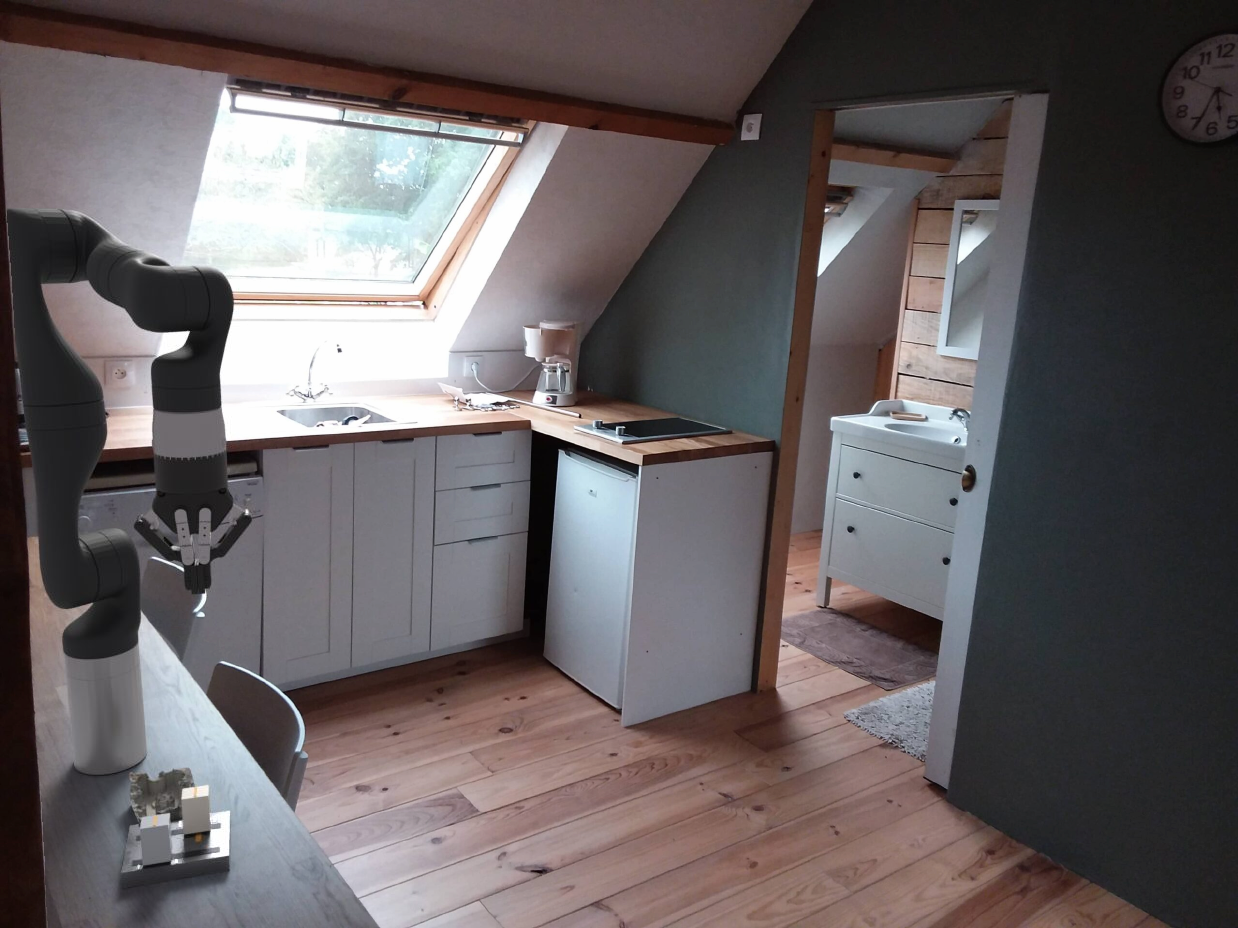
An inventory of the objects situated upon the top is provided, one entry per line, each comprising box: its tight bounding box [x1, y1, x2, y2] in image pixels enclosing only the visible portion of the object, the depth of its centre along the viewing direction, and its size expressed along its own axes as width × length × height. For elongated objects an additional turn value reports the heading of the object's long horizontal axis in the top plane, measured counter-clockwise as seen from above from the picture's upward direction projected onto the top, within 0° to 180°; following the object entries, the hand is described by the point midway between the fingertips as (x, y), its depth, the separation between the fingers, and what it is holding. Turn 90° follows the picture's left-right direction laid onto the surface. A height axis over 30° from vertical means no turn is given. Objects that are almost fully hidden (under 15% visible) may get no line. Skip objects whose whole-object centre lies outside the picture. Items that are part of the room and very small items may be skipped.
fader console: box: [120, 810, 232, 889], centre depth 120 cm, size 10×12×2 cm
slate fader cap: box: [140, 813, 172, 865], centre depth 116 cm, size 2×3×5 cm
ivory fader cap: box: [181, 784, 211, 834], centre depth 122 cm, size 2×3×5 cm
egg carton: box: [128, 767, 196, 824], centre depth 128 cm, size 11×8×4 cm
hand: (198, 591), depth 115 cm, fingers closed
